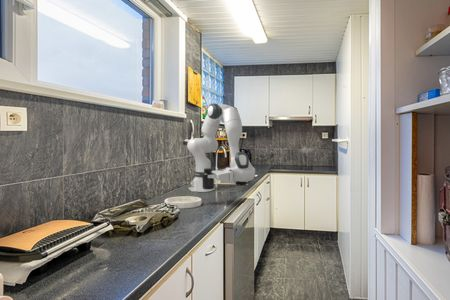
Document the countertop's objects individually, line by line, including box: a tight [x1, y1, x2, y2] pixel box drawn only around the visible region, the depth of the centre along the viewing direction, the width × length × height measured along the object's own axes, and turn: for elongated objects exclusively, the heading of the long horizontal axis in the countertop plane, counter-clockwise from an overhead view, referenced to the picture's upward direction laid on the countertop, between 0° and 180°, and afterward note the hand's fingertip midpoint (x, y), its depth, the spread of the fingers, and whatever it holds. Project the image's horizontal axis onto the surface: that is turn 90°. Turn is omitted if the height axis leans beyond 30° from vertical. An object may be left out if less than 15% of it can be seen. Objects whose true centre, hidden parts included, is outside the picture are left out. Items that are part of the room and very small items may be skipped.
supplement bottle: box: [202, 168, 215, 189], centre depth 195 cm, size 7×7×12 cm
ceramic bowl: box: [164, 195, 203, 210], centre depth 193 cm, size 21×21×3 cm
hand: (206, 175), depth 195 cm, fingers closed on supplement bottle, 7 cm apart
